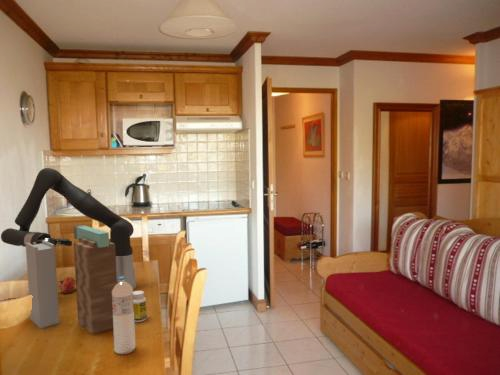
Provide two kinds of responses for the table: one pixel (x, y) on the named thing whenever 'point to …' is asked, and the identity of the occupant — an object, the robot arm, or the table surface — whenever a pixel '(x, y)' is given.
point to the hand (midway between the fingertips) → (63, 244)
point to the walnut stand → (95, 284)
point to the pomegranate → (67, 285)
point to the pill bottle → (139, 306)
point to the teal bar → (92, 235)
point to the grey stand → (42, 283)
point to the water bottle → (123, 317)
